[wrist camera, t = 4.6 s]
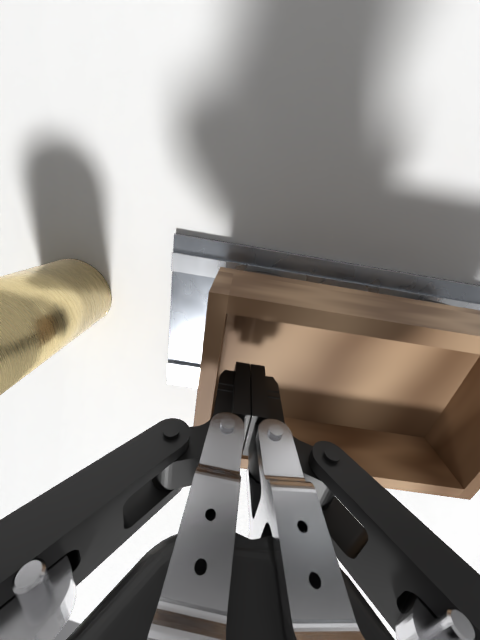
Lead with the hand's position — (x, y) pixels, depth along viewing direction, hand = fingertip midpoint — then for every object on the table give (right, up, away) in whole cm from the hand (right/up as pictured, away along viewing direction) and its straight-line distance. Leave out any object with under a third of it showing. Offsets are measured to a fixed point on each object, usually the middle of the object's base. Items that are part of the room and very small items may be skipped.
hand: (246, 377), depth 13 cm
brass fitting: (-12, +5, +5) cm, 14 cm away
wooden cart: (+6, +1, +6) cm, 9 cm away
